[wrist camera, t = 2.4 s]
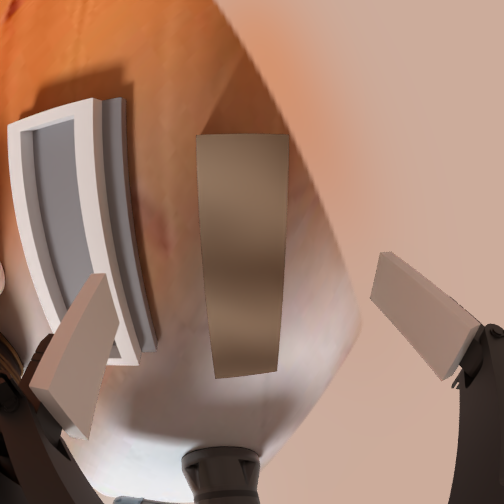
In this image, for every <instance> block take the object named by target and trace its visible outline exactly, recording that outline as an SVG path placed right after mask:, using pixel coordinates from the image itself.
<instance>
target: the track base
mask: <svg viewBox="0 0 504 504" xmlns="http://www.w3.org/2000/svg"><path fill="white" fill-rule="evenodd" d="M8 158H9V171H10V181H11V189H12V196H13V203H14V209H15V214H16V220H17V224H18V229H19V234H20V238H21V242H22V246H23V250H24V254H25V258H26V261H27V265H28V268H29V271H30V274H31V278H32V281H33V284H34V287H35V289H36V292H37V295H38V298H39V300H40V303H41V306H42V308H43V311H44V313H45V316H46V318H47V321H48V323H49V325H50V328H51V330H52V332H53V334H55V332H56V330H57V328H58V327H59V325H60V323H61V321H62V320H63V318H64V316H65V314H66V313H67V311H68V309H69V308H70V306H71V304H72V303H73V301H74V300H75V298H76V296H77V295H78V293H79V292H80V290H81V288H82V287H83V285H84V284H85V282H86V281H87V279H88V278H89V276H90V275H91V274H96V273H106V276H107V280H108V284H109V288H110V291H111V295H112V298H113V302H114V305H115V309H116V312H117V315H118V318H119V322H120V324H119V327H118V330H117V333H116V336H115V339H114V342H113V345H112V348H111V352H110V355H109V358H108V362H107V365H128V366H139V364H140V358H141V353H142V352H157V344H158V342H157V338H156V334H155V330H154V326H153V322H152V318H151V314H150V310H149V305H148V301H147V296H146V291H145V287H144V282H143V276H142V271H141V266H140V260H139V254H138V248H137V242H136V235H135V228H134V220H133V212H132V204H131V194H130V184H129V171H128V156H127V131H126V99H124V98H122V97H119V98H113V99H108V100H103V101H101V100H99V99H96V98H89V99H85V100H81V101H77V102H73V103H69V104H66V105H62V106H59V107H56V108H53V109H49V110H46V111H43V112H40V113H38V114H35V115H32V116H29V117H26V118H24V119H21V120H19V121H16V122H14V123H11V124H9V125H8Z"/></svg>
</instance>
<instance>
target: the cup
mask: <svg viewBox="0 0 504 504" xmlns="http://www.w3.org/2000/svg"><path fill="white" fill-rule="evenodd" d="M4 287H5V276H4V271H3V268H2V265H1V263H0V294H1V293H2V291H3V290H4Z"/></svg>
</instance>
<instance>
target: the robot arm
mask: <svg viewBox="0 0 504 504" xmlns="http://www.w3.org/2000/svg"><path fill="white" fill-rule="evenodd" d="M370 299H371V300H372V301H373V302H374V303H375V305H376V306H377V307H378V308H379V309H380V310H381V311H382V312H383V313H384V314H385V315H386V317H387V318H388V319H389V320H390V321H391V322H392V323H393V324H394V326H395V327H396V328H397V329H398V330H399V331H400V332H401V333H402V335H403V336H404V337H405V338H406V339H407V340H408V342H409V343H410V344H411V345H412V346H413V347H414V349H415V350H416V351H417V352H418V353H419V355H420V356H421V357H422V358H423V359H424V360H425V362H426V363H427V364H428V365H429V367H430V368H431V369H432V370H433V371H434V373H435V374H436V375H437V376H438V377H439V379H440V380H441V381H443V380H445V379H447V378H448V377H450V376H452V375H453V374H454V372H455V370H456V369H457V367H458V365H460V366H461V367H462V370H461V371H460V373H459V375H458V376H457V378H456V379H455V381H454V382H453V384H452V388H454V387H455V385H456V384H457V382H459V385H458V386H457V388H456V389H460V417H459V436H458V449H457V457H456V464H455V471H454V478H453V483H452V488H451V493H450V498H449V502H448V504H504V330H503V329H502V328H501V327H499V326H498V325H495V324H487V325H486V326H483V325H482V324H481V323H480V322H479V321H478V320H476V318H474V317H473V316H472V315H471V314H470V313H469V312H467V311H466V310H464V308H463V307H462V306H461V305H459V304H458V303H457V302H456V301H455V300H454V299H452V298H451V297H449V296H448V295H447V294H445V293H444V292H443V291H442V290H441V289H439V288H438V287H436V285H434V284H433V283H432V282H431V281H429V280H428V279H427V278H425V277H424V276H423V275H422V274H420V273H419V272H418V271H416V270H415V269H414V268H412V267H411V266H410V265H409V264H407V263H406V262H404V261H403V260H402V259H400V258H399V257H398V256H396V255H395V254H394V253H392V252H383V253H380V256H379V260H378V265H377V270H376V275H375V279H374V283H373V288H372V292H371V296H370ZM119 324H120V322H119V318H118V315H117V312H116V309H115V305H114V302H113V298H112V295H111V291H110V288H109V284H108V280H107V276H106V273H96V274H91V275H90V276H89V278H88V279H87V281H86V282H85V284H84V285H83V287H82V288H81V290H80V292H79V293H78V295H77V296H76V298H75V300H74V301H73V303H72V304H71V306H70V308H69V309H68V311H67V313H66V314H65V316H64V318H63V320H62V321H61V323H60V325H59V327H58V328H57V330H56V332H55V334H48V335H47V336H46V337H45V338H44V339H43V340H42V341H41V342H40V344H39V346H38V347H37V349H36V351H35V352H36V353H34V355H33V357H32V359H31V360H32V361H30V363H29V365H28V367H27V369H26V371H25V373H24V375H23V377H22V379H21V381H20V383H19V385H18V384H17V383H16V381H15V380H14V379H13V377H12V376H11V374H10V373H9V372H7V371H6V370H0V504H104V503H103V502H102V501H101V499H100V498H99V497H98V495H97V494H96V492H95V491H94V489H93V488H92V486H91V485H90V483H89V482H88V480H87V479H86V477H85V476H84V474H83V473H82V471H81V469H80V468H79V466H78V465H77V463H76V461H75V459H74V458H73V456H72V454H71V452H70V451H69V449H68V447H67V445H66V443H65V441H64V440H63V439H62V437H61V436H60V435H61V431H62V429H63V430H64V431H65V432H66V433H67V434H68V435H69V436H70V437H73V438H79V439H84V440H89V435H90V430H91V425H92V421H93V416H94V411H95V407H96V403H97V399H98V395H99V391H100V387H101V383H102V379H103V376H104V372H105V369H106V365H107V362H108V358H109V355H110V352H111V348H112V345H113V342H114V339H115V336H116V333H117V330H118V327H119ZM182 471H183V474H184V476H185V478H186V480H187V482H188V484H189V486H190V488H191V490H192V492H193V495H194V503H195V504H260V501H259V497H258V493H257V484H258V478H259V471H260V461H259V457H258V455H257V453H255V452H254V451H252V450H249V449H244V448H237V447H216V448H208V449H202V450H198V451H194V452H191V453H189V454H187V455H185V456H184V457H183V458H182ZM113 504H178V503H168V502H160V501H153V500H147V499H144V498H134V497H128V496H119V497H117V498H116V499H115V500H114V502H113Z"/></svg>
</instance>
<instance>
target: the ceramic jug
mask: <svg viewBox="0 0 504 504" xmlns="http://www.w3.org/2000/svg"><path fill="white" fill-rule="evenodd" d="M0 370H6V371H7V372H9V373H10V374H11V376H12V377H13V379H14V380H15V381H16V383H17V384H18V385H19V383H20V381H21V376H22V375H23V371H24V370H23V366H22V364H21V361H20V359H19V357H18V354H17V353H16V351H15V350H14V349H13V347H12V346H11V345H10V344H9V342H8V341H7V340H6V339H5V337H4V336H3V335H2V334H1V333H0Z"/></svg>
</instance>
